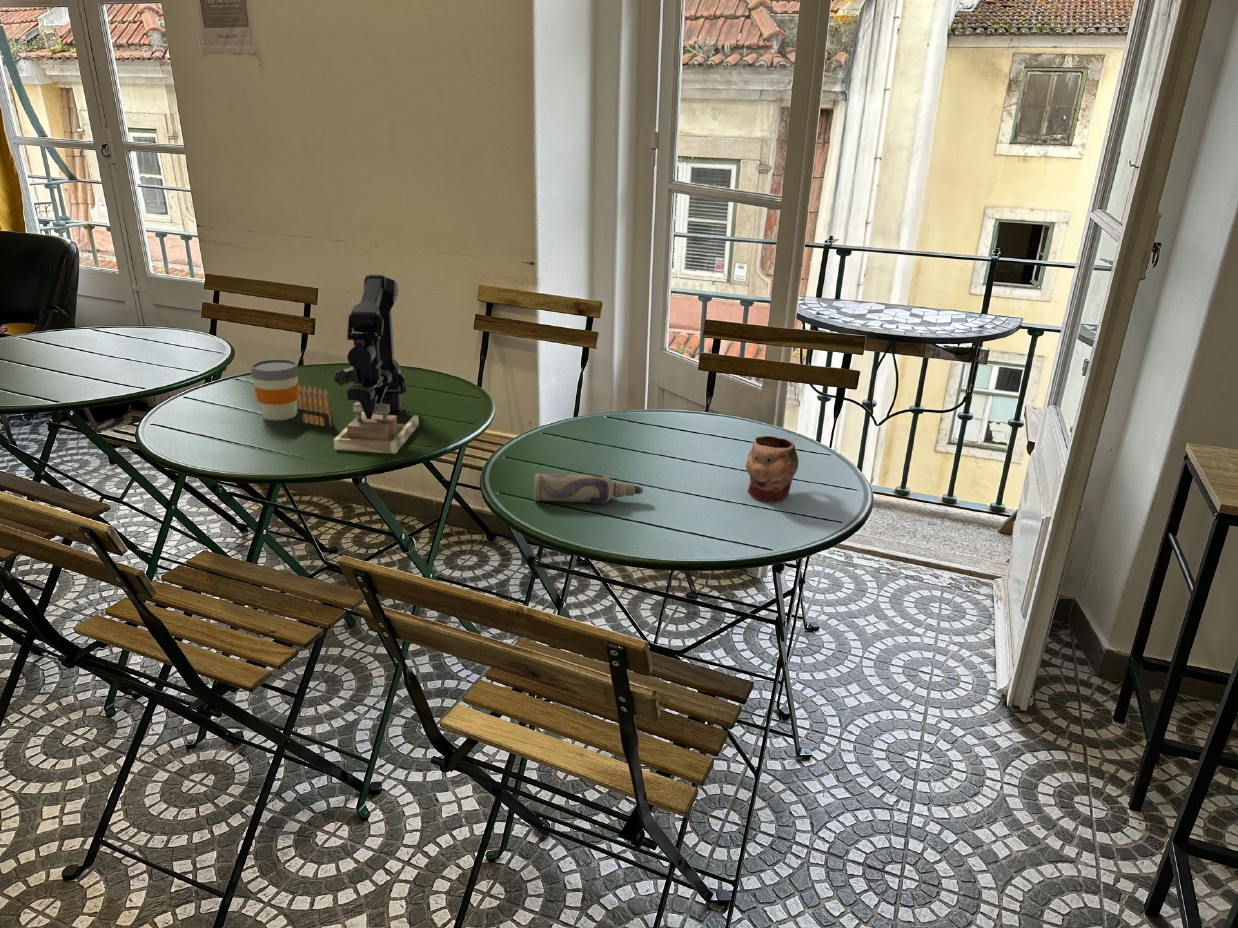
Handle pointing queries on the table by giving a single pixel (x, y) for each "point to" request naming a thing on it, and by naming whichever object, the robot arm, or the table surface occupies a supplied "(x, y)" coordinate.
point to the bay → (375, 445)
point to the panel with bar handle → (373, 424)
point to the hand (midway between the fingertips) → (371, 415)
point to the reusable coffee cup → (276, 388)
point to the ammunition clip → (313, 408)
